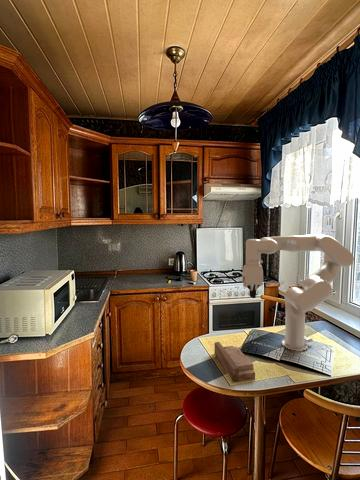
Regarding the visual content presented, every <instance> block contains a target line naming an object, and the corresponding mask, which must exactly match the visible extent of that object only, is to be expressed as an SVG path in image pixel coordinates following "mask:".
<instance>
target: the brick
mask: <svg viewBox="0 0 360 480" xmlns="http://www.w3.org/2000/svg"><path fill="white" fill-rule="evenodd" d="M225 350H226V352H227V353H228V354H229V356H230V357H231V358H232V360H233V361H234V362H235V364H236V365H237V366H238V368H239V372H242V371H249V370H254V363H253V362H252V361H251V359H249V358H248V357H247V356H245V354H244V353H243V352H242V351H241V349H240V348H239V347H238V346H234V347H231V348H227V349H225Z"/></svg>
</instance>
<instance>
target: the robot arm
mask: <svg viewBox="0 0 360 480" xmlns="http://www.w3.org/2000/svg"><path fill="white" fill-rule="evenodd" d="M277 251H284V252H285V251H286V252H290V253H291V252H292V253H300V252H302V253H304V252H322V253H323V254H324V255H323V263H322V265H321V267H320V268H319V269H317V270H316V271H315V272H313V273H312V274H310V275H308V277H306V278H304V280H303V281H302V288H303V289H304V290H303V289H301V288H299V287H297V286H291V287H288V288H287V289H286V290H285V293H284V305H285V323H284V324H285V325H284V326H285V327H284V329H285V330H284V332H285V333H284V339H283V340H282V341H281V345H282V347H284V346H285V347H286V348H285V347H284V348H285V349H287V348H288V349H287V350H289V349H291V350H290V351H292V350H296V351H295V352H304V351H303V350H305V351H306V349H307V350H308V343H311V342H313V341H314V340H313V338H312V337H309V338H308V336H306V335H305V333H306V313H308V312H310V311H312V310H313V309H315V308H316V307H318V306H319V305H320V304H322V303H323V302H325V301H326V300H327V299H328V298H329V297H330V296H331V294H332V291H333V289H332V285H331V283H332V282H333V281H334V280H336V279H337V277H338V275H339V273H340V268H348V267H351V266H352V265H353V264H354V260H355V258H354V254H353V253H352V252H351V251H350V250H349V249H348V248H346V246H344V245H343V244H342V243H340V241H338V240H337V239H335V238H334V237H332V236H330V235H325V234H319V233H317V234H316V233H315V234H314V233H313V234H304V235H287V236H286V235H285V236H284V235H283V236H282V235H281V236H267V237H266V236H265V237H261V238H260V239H258V238H248V239H246V241H245V264H244V265H243V268H242V276H241V280H242V281H241V282H242V287H244V288H247V289H248V290H249V292H248V293H249V297H250V298H251V299H256V298H257V297H256V296H257V290H258V289H259V288H260V287H263V284H264V269H263V266H262V264H263V262H264V261H263V259H262V256H261V255H262V254H268V255H272V254H275V253H277Z"/></svg>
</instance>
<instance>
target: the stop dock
mask: <svg viewBox="0 0 360 480" xmlns="http://www.w3.org/2000/svg"><path fill="white" fill-rule="evenodd" d="M231 347H235V346H234V345H230V346H223V345H222V343H221V342H220V341H217V342H214V355H215V356H216V358H217V359H218V361H219V363H220V364H221V366H222V367H223V369H224V370H225V372H226V374H227V375H228V377H229V378H230V380H231V381H232V383H239V382H245V381H246V382H247V381H251V380H255V379H256V372H255V371H254V369H253V370H249V371H242V372H239V368H238V366H237V365H236V364H235V362H234V361H233V360H232V358H231V357H230V356H229V354H228V353H227V352H226V350H225V349H227V348H231Z"/></svg>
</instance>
